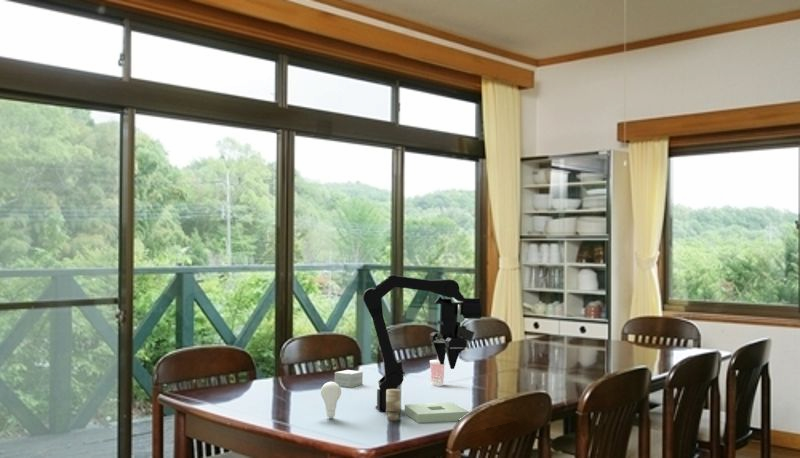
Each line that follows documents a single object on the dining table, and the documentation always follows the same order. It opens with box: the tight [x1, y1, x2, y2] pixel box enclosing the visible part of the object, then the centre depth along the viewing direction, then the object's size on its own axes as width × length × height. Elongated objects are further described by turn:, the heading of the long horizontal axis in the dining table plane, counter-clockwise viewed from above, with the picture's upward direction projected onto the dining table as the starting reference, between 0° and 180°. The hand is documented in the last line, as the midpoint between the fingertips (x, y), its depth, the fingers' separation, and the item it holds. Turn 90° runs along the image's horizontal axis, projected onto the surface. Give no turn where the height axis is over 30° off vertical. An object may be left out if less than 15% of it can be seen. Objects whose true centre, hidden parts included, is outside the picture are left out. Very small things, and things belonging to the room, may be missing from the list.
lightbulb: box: [320, 381, 342, 419], centre depth 226 cm, size 6×6×11 cm
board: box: [404, 401, 470, 424], centre depth 230 cm, size 16×14×2 cm
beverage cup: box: [429, 356, 446, 387], centre depth 284 cm, size 6×6×14 cm
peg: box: [385, 388, 402, 422], centre depth 225 cm, size 5×5×9 cm
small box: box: [333, 369, 364, 388], centre depth 282 cm, size 8×8×5 cm
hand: (447, 366), depth 241 cm, fingers open, 9 cm apart
